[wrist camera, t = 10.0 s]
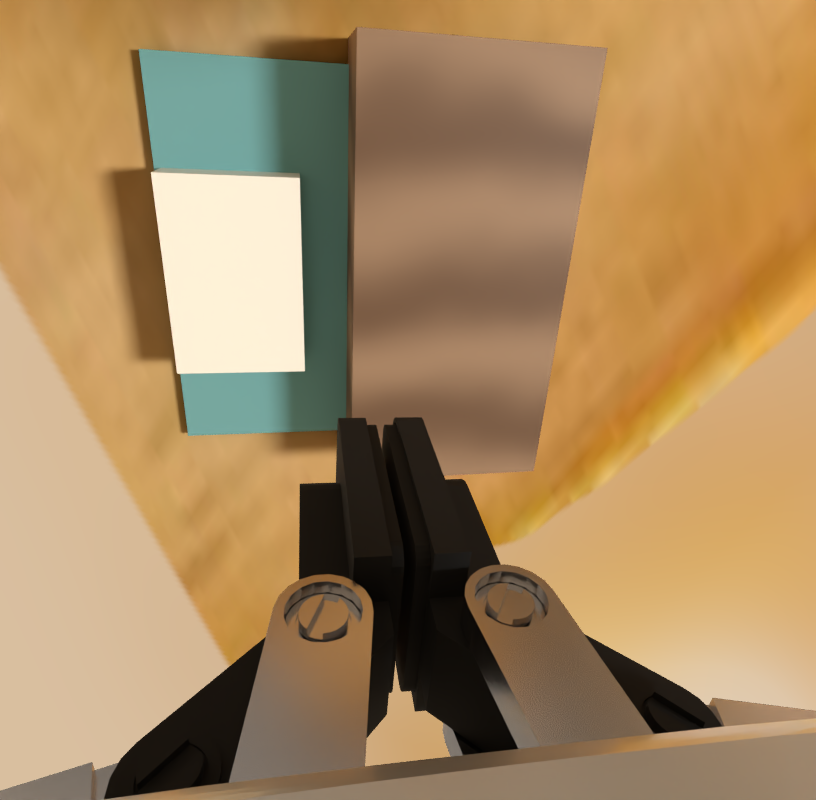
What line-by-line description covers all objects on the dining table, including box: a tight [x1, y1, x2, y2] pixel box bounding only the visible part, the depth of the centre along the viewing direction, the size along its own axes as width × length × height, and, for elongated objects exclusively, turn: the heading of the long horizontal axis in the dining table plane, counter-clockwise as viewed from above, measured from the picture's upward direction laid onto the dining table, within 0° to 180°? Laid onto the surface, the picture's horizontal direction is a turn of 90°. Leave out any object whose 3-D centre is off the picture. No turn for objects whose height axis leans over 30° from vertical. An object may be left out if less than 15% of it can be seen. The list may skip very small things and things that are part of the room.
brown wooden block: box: [346, 27, 607, 476], centre depth 29 cm, size 20×10×4 cm, turn 177°
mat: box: [139, 49, 349, 436], centre depth 29 cm, size 18×8×1 cm, turn 177°
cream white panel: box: [151, 168, 305, 374], centre depth 27 cm, size 9×6×2 cm, turn 177°
